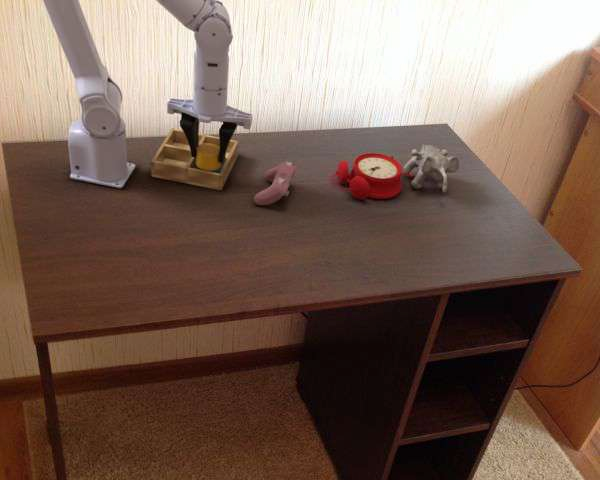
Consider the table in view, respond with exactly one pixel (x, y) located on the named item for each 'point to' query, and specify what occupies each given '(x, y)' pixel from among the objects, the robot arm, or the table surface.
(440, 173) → the gray elephant figurine
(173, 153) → the grid
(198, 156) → the yellow cylinder
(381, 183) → the alarm clock
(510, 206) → the table surface
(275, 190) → the pink curved piece
